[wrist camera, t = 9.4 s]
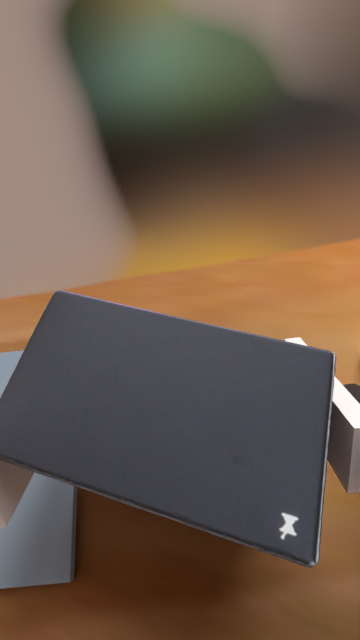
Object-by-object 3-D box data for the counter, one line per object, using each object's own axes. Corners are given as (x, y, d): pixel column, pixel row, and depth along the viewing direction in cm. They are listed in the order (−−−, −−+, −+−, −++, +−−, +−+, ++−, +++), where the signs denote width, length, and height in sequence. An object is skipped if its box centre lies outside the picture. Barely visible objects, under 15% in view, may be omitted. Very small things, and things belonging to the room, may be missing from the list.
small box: (278, 400, 20) (347, 343, 10) (259, 517, 17) (328, 588, 8) (120, 359, 22) (53, 278, 12) (83, 460, 19) (-38, 460, 10)
